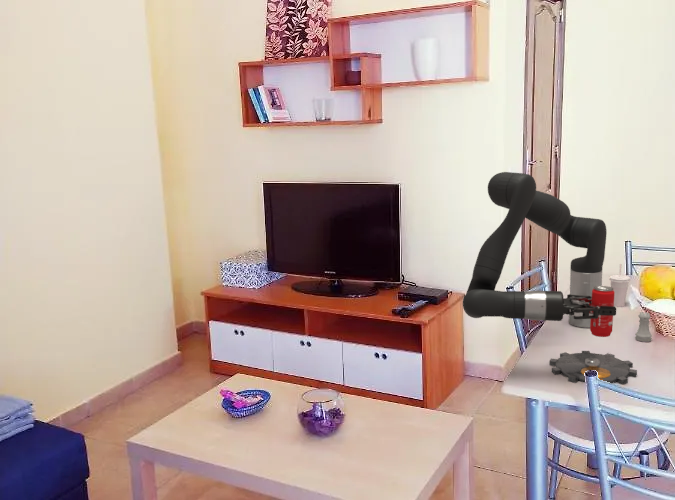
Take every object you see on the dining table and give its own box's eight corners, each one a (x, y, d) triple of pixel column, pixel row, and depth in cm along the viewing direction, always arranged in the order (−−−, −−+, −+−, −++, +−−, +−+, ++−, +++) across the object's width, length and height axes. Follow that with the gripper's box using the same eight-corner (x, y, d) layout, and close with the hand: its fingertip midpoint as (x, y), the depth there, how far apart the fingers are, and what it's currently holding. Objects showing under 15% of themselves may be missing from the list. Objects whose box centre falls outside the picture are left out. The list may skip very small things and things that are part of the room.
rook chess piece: (648, 337, 199) (650, 310, 197) (654, 342, 194) (655, 315, 192) (632, 337, 199) (634, 311, 197) (637, 342, 195) (639, 315, 193)
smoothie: (630, 303, 230) (632, 263, 227) (626, 308, 225) (628, 267, 222) (610, 301, 234) (612, 261, 231) (606, 306, 228) (608, 265, 225)
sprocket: (546, 354, 189) (546, 345, 189) (625, 355, 185) (626, 346, 185) (555, 384, 169) (555, 375, 168) (644, 387, 165) (645, 377, 164)
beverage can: (601, 339, 168) (604, 292, 165) (585, 333, 172) (587, 287, 170) (616, 335, 170) (619, 288, 168) (600, 329, 175) (602, 284, 172)
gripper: (546, 299, 165) (620, 301, 162) (540, 284, 179) (608, 285, 176) (545, 328, 167) (618, 331, 163) (539, 311, 180) (607, 313, 177)
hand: (613, 307), depth 169 cm, fingers closed on beverage can, 5 cm apart
